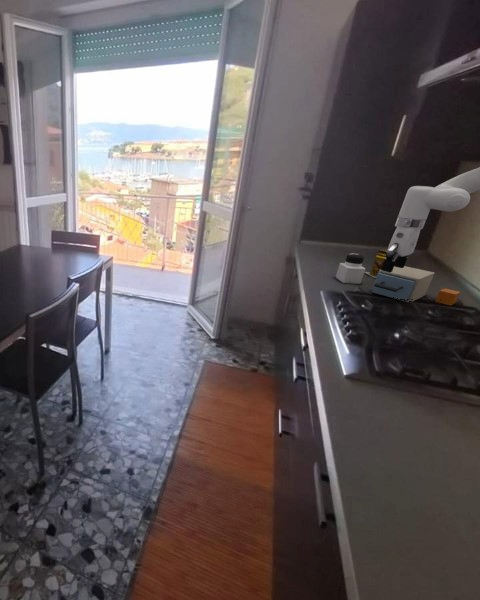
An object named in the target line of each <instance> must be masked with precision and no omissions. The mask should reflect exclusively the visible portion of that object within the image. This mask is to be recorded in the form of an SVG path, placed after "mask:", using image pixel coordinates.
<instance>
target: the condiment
mask: <svg viewBox="0 0 480 600" xmlns="http://www.w3.org/2000/svg"><path fill="white" fill-rule="evenodd" d="M387 250H388V249H386V248H383V249H379V250H378V252H377V255H375V258H374V260H373V264H372V266H371V270H370V271H365V273H364V274H367V275H368V276H370V277H372V278H375V279H376V277H377V275H378V273H379V270H381V268H382V266H383V263H384V260H385V257H386V255H387Z"/></svg>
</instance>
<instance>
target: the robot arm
mask: <svg viewBox="0 0 480 600" xmlns="http://www.w3.org/2000/svg"><path fill="white" fill-rule="evenodd" d="M479 191H480V166H479V167H477V168H474V169H471V170H469V171H466V172H463V173H461V174H459V175H457V176H455V177H452V178H450V179H448V180H446V181H444V182H442V183H440V184H438V185H437V186H435V187H434V186H428V185H427V186H426V185H413V186H411V187H409V188H408V189H407V192H406V194H405V197H404V200H403V202H402V205H401V208H400V209H399V213H398V215H397V219H396V221H395V224H394V227H396V229H395V230H394V233H393V234H392V237H391V239H390V242H389V244H388V247H387V249H386V250H387V255H386V257H385V260H384V263H383V266H382V268H381V270H382V271H386V272H392V271H393V268H394V267H399V268H404V266H406V264H407V260H408V258H409V256H410V255H412V254H413V253H414V252H415V248H416V246H417V243H418V239H419V236H420V233H421V230H423V228H424V226H425V223H426V221H427V219H428V216H429V214H430V211H431V210H437V211H441V212H457V211H459V210H462V209H464V208H465V207H466V206H468V205H469V204H470V201H471V195H470V194H472V193H475V192H479Z"/></svg>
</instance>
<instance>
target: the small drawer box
mask: <svg viewBox="0 0 480 600" xmlns="http://www.w3.org/2000/svg"><path fill="white" fill-rule="evenodd" d="M379 273H382V274H383V273H386V274H390V275H395V276H399V277H403V278H407V279H411V280H416V282H415V284H414V287H413V289H412V292H411V294H410V297H409V298H408V299H413V300H408V301H403V300H400V299H396V298H393V297H389V296H385V295H382V294H378V293H375V292H372V293H374V294H376V295H381V296H384V297H386V298H387V297H388V298H391V299H395V300H398V301H403V302H405V303H409V301H412V302H414V301H417V300H418V299H421V298H423V297H425V296H426V294H427V293H428V290H429V287H430V285H431V283H432V280H433V278H434V275H435V272H433V271H429V270H424V269H420V268H414V267H410V266H406V265H405V266H404V268H399V267H394V268H393V271H392V272H386V271H382V270H379Z"/></svg>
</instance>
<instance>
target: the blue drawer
mask: <svg viewBox="0 0 480 600" xmlns="http://www.w3.org/2000/svg"><path fill="white" fill-rule="evenodd" d="M415 282H416V280H411V279H407V278H403V277H399V276H395V275H390V274H386V273H383V274H382V273H378V275H377V277H376V278H375V280H374V283H373V285H372V289H371V293H373V292H375V293H374V294H377V293H378V294H377V295H380V294H382V295H381V296H384V295H385V296H384V297H387V296H389V297H388V298H391V297H394V298H396V299H395V300H398V299H405V300H407V299H408V298H409V297H410V294H411V292H412V289H413V287H414V284H415ZM394 298H393V299H394ZM397 298H398V299H397ZM403 302H405V301H404V300H403Z"/></svg>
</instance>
